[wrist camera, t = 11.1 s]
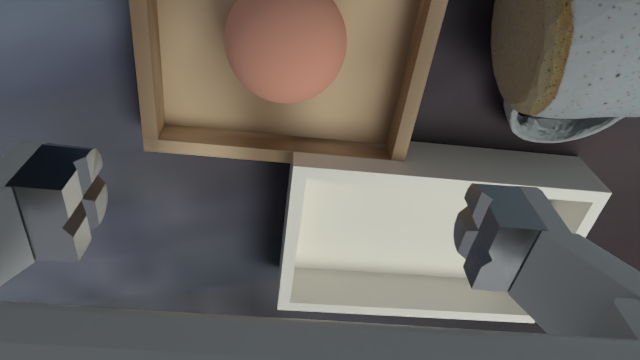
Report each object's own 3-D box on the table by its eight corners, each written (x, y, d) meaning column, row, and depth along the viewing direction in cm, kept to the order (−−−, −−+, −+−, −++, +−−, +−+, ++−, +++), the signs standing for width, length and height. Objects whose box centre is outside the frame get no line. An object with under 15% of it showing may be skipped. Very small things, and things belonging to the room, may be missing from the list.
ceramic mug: (492, -80, 20) (582, -44, 13) (688, -100, 20) (870, -74, 13) (468, 135, 26) (521, 228, 20) (616, 121, 26) (717, 210, 20)
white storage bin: (578, 156, 27) (612, 192, 24) (513, 282, 33) (534, 323, 30) (293, 130, 25) (293, 166, 22) (279, 267, 31) (277, 309, 28)
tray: (464, -125, 19) (482, -123, 17) (394, 150, 26) (401, 172, 24) (129, -177, 17) (109, -181, 16) (155, 129, 25) (144, 150, 23)
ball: (352, -28, 20) (361, 3, 16) (335, 81, 23) (339, 131, 19) (235, -43, 20) (213, -16, 16) (232, 69, 22) (214, 117, 18)
